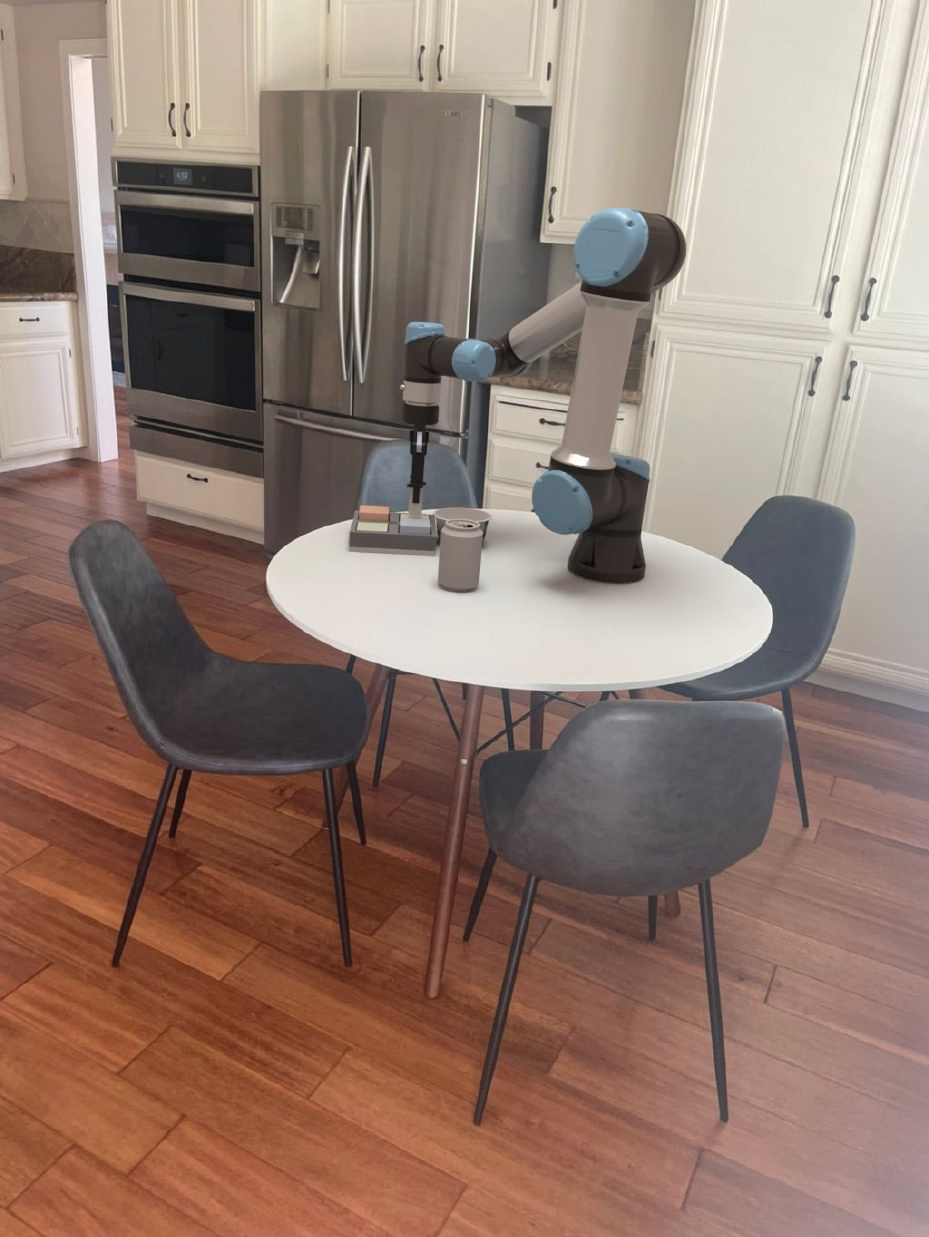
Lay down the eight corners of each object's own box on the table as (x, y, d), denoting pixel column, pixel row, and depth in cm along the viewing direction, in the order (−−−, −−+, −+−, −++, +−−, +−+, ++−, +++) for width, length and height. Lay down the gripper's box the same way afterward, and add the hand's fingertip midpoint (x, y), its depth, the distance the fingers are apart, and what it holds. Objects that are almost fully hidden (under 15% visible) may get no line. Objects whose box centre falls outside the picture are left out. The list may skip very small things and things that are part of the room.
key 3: (429, 531, 193) (429, 519, 192) (429, 539, 187) (430, 527, 186) (399, 529, 192) (400, 517, 191) (399, 537, 187) (400, 525, 186)
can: (474, 595, 166) (479, 530, 162) (433, 590, 168) (437, 524, 163) (482, 582, 173) (487, 519, 169) (442, 577, 175) (446, 514, 170)
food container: (422, 546, 193) (423, 515, 191) (446, 534, 203) (448, 504, 201) (475, 556, 188) (477, 524, 186) (498, 543, 199) (500, 512, 197)
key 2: (388, 518, 200) (389, 506, 199) (387, 525, 194) (388, 514, 193) (360, 516, 199) (360, 505, 199) (358, 524, 194) (359, 512, 193)
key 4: (428, 526, 201) (429, 515, 200) (428, 534, 195) (429, 522, 194) (400, 525, 201) (400, 513, 200) (399, 532, 195) (400, 521, 194)
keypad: (433, 532, 203) (434, 514, 201) (435, 556, 187) (436, 536, 186) (354, 528, 202) (354, 510, 200) (349, 551, 186) (349, 531, 184)
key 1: (387, 535, 192) (387, 523, 192) (386, 543, 187) (387, 531, 186) (357, 533, 192) (358, 522, 191) (356, 542, 186) (356, 529, 186)
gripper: (402, 397, 194) (397, 508, 203) (401, 406, 182) (396, 524, 191) (438, 399, 195) (432, 510, 203) (440, 409, 183) (433, 526, 191)
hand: (414, 517), depth 197 cm, fingers closed
